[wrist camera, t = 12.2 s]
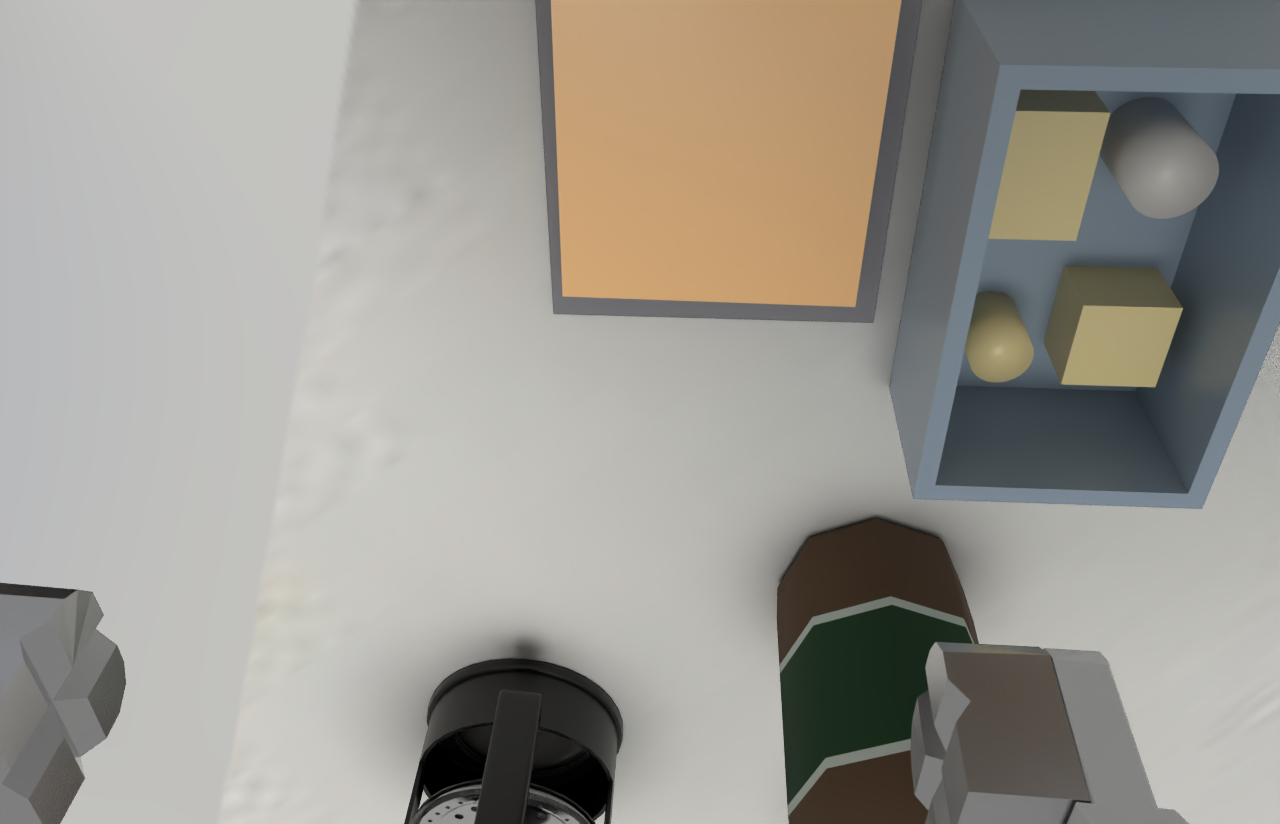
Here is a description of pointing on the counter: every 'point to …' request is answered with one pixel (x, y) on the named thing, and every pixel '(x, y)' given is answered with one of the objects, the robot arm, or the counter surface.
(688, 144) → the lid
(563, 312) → the mat
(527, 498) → the counter surface
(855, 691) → the beer bottle
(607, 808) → the french press
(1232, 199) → the tub
